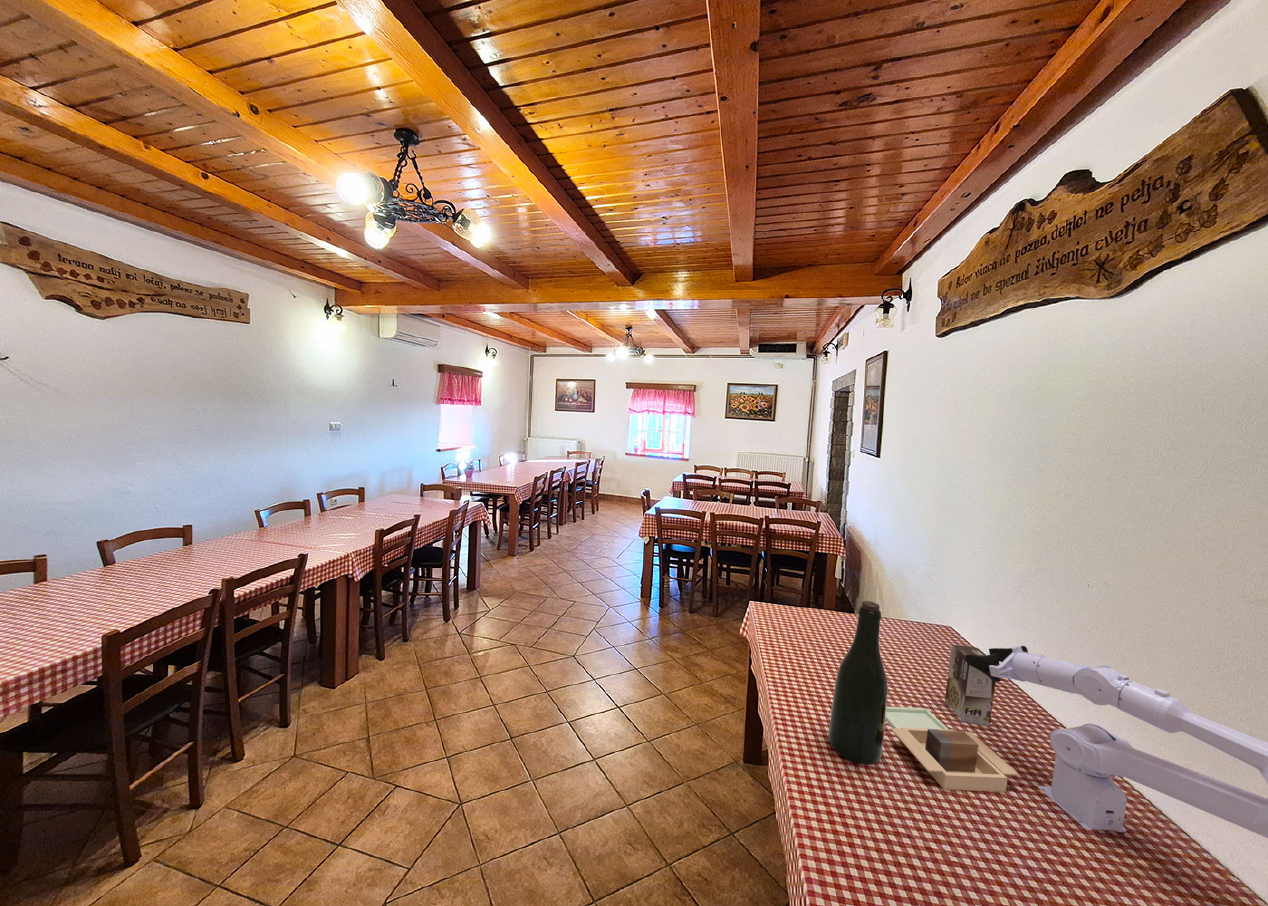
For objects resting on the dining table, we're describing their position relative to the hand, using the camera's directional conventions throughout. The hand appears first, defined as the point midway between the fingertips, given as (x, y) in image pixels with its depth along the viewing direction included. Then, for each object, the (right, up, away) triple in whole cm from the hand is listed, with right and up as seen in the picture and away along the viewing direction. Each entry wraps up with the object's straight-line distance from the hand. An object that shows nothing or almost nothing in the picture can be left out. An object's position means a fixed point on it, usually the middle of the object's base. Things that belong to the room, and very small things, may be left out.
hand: (979, 656), depth 104 cm
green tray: (-14, -18, +2) cm, 23 cm away
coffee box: (+3, -19, +9) cm, 21 cm away
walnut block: (-14, -18, -10) cm, 25 cm away
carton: (-14, -19, -10) cm, 26 cm away
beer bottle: (-33, -17, -7) cm, 38 cm away
